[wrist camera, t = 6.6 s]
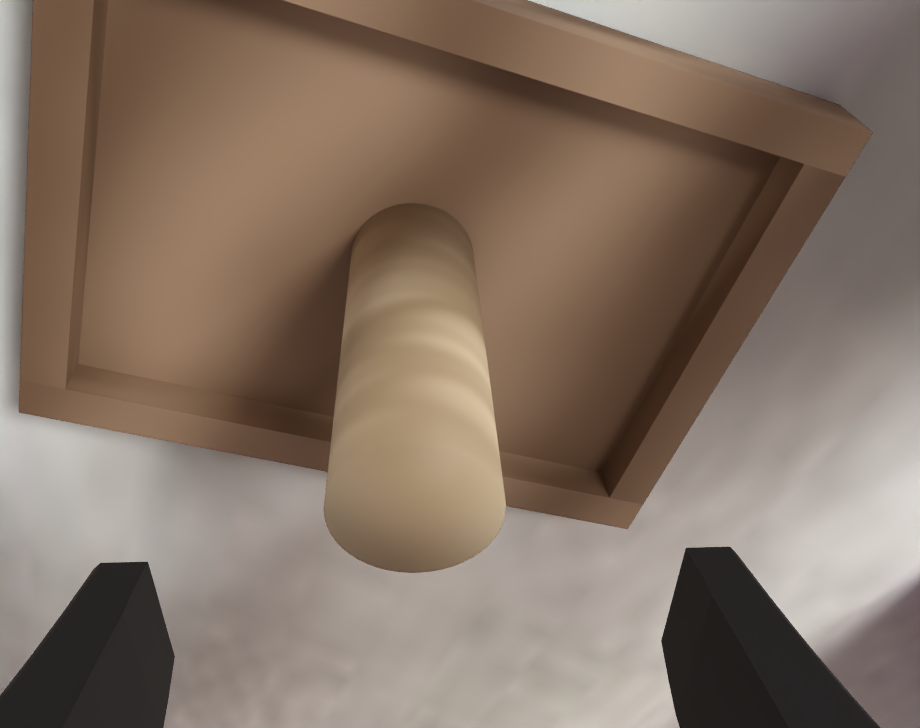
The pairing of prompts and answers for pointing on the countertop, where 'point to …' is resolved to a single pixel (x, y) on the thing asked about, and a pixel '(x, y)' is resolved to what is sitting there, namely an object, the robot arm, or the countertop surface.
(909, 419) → the countertop surface
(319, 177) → the tray
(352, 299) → the pin
